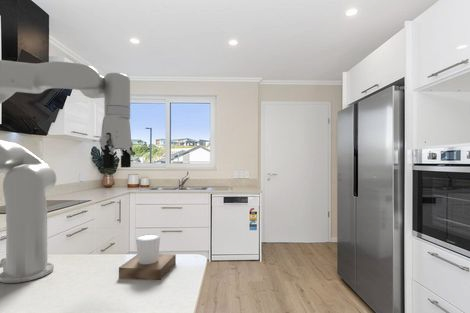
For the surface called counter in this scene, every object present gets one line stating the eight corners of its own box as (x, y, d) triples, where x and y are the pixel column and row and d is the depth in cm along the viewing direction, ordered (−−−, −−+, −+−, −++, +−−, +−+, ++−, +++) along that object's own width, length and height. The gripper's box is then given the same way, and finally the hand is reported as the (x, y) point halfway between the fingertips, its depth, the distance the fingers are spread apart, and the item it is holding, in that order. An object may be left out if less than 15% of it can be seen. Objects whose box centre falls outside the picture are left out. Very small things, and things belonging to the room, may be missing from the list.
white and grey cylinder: (153, 266, 77) (152, 240, 77) (130, 264, 79) (130, 239, 79) (164, 257, 84) (164, 234, 84) (143, 256, 86) (143, 233, 86)
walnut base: (118, 278, 76) (118, 267, 76) (139, 262, 88) (139, 253, 88) (160, 280, 75) (160, 269, 75) (175, 264, 87) (175, 254, 87)
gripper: (120, 118, 97) (121, 167, 97) (88, 108, 80) (88, 168, 79) (141, 117, 96) (141, 166, 96) (113, 108, 79) (113, 168, 78)
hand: (117, 167), depth 88 cm, fingers open, 9 cm apart
